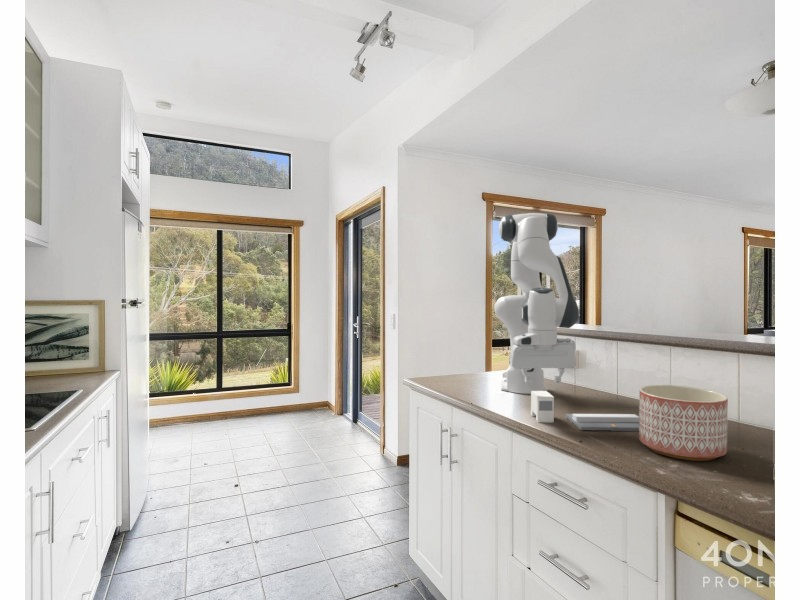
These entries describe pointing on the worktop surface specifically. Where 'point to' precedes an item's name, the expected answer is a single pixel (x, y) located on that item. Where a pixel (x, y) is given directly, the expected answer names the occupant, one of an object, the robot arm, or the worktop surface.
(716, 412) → the planter
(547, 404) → the block
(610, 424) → the rail panel
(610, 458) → the worktop surface
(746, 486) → the worktop surface
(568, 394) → the worktop surface
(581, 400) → the worktop surface
